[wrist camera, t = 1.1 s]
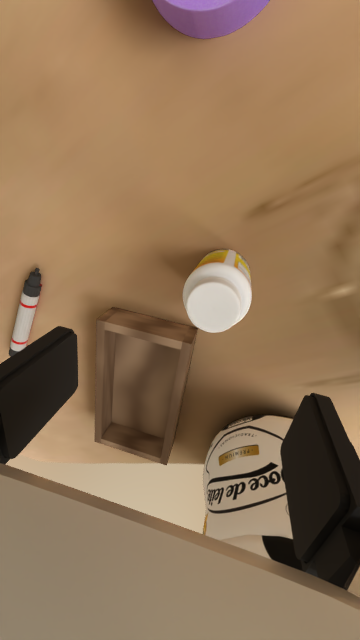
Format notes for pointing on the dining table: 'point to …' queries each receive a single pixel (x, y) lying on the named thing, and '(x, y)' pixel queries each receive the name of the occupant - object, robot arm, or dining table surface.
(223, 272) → the supplement bottle
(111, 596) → the robot arm
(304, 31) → the dining table surface
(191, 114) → the dining table surface
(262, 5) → the masking tape
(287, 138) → the dining table surface
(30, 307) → the marker
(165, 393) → the brown wooden tray
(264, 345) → the dining table surface
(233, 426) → the milk container
